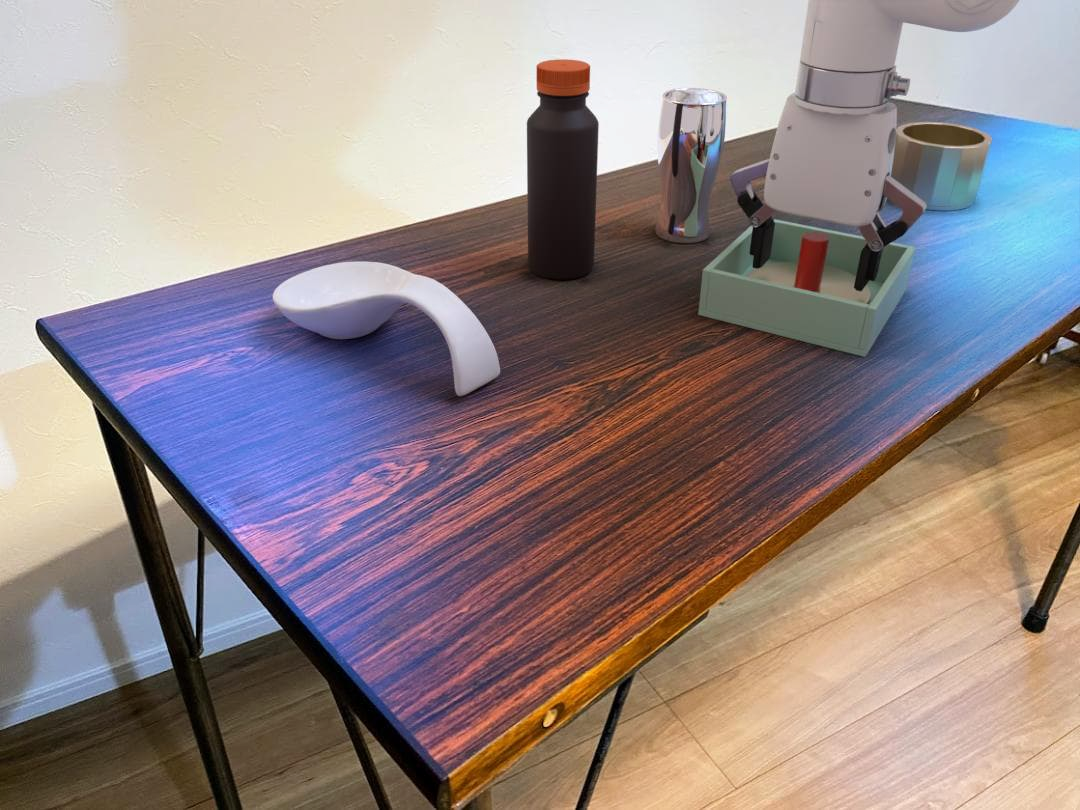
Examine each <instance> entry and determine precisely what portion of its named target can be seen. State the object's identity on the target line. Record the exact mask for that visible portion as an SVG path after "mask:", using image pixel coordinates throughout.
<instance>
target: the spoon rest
mask: <svg viewBox="0 0 1080 810" xmlns="http://www.w3.org/2000/svg"><path fill="white" fill-rule="evenodd" d="M272 301H273V304H274V306H275V307H276V308H277V310H278V311H279V312H280V313H281V314H282V315H283V316H284V317H285V318H286V319H288V321H290V322H292V323H293V324H295V325H297V326H299V327H301V328H303V329H305V330H308V331H311V332H314V333H317V334H319V335H320V336H322V337H326V338H327V339H328V338H329V339H333V340H348V339H356V338H361V337H363V336H367V335H369V334H371V333H374V331H376V330H377V329H379V328H380V327H381V325H383V324H384V323H386V322H387V321H388V320H390V318H391V317H393V316H394V315H395V314H396V313H397V311H399V309H400V307H402V305H403V304H404V303H405V304H409V305H411V306H414V307H415V308H417V309H419V310H420V311H421V312H423V313H424V314H425V315H426V316H427V317H429V318H430V319H431V320H432V321H433V322H434V323H435V325H436V326H437V328H439V330H440V332H441V333H442V335H443V338H444V340H445V341H446V343H447V346H448V349H449V354H450V359H451V363H452V372H453V382H454V391H455V394H456V396H458V397H464V396H465V395H468V394H469V393H472V392H473V391H475V390H477V389H479V388H481V387H483V386H484V385H486V384H489V383H490V382H491V381H493V380H494V379H496V378H497V377H499V376H500V374H501V367H500V362H499V356H498V353H497V350H496V348H495V346H494V342H493V341H492V339H491V337H490V335H489V334H488V332H487V330H486V329H485V327H484V325H482V323H481V322H480V320H479V319H478V317H477V316H476V315H475V314H474V312H473V311H472V310H471V309H470V307H468V305H466V303H465V302H464V301H463V300H462V299H460V298H459V296H457V295H456V294H455V293H454V292H453V291H452V290H450V289H449V288H448V287H447V286H445V285H444V284H442V283H440V282H439V281H438V280H435V279H433V278H431V277H429V276H426V275H425V276H424V275H420V274H416V273H412V272H410V271H408V270H406V269H402V268H400V267H398V266H396V265H392V264H388V263H384V262H376V261H343V262H337V263H331V264H326V265H321V266H319V267H315V268H311V269H309V270H306V271H303V272H301V273H298V274H296V275H293V276H292V277H290V278H288V279H287V280H285V281H283V282H281V283H280V284H279V285H278V286H277V287H276V288H275V289H274V291H273V292H272Z"/></svg>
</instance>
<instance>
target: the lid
mask: <svg viewBox="0 0 1080 810" xmlns="http://www.w3.org/2000/svg"><path fill="white" fill-rule="evenodd" d="M828 243H829V237H828V236H827V235H825V234H823V233H819V232H807V233H804V234H803V236H802V241H801V247H800V253H799V259H798V262H778V263H771V264H767V265H763V266H762V267H761V268H759V269H754V270H752V271H751V272H750V273H749V274H748V275H747V277H751V278H755V279H760V280H764V281H768V282H773V283H777V284H782V285H786V286H790V287H795V288H799V289H804V290H808V291H812V292H817V293H821V294H826V295H830V296H834V297H839V298H843V299H848V300H852V301H856V302H861V303H865V304H869V303H870V299H871V291H870V289H869V287H868V286H867V285H866V286H865V287H864V289H863V290H862V292H861V291H856V289H854V284H855V279H856V276H855V275H853V274H851V273H849V272H846V271H844V270H841V269H838V268H835V267H831V266H827V265H825V260H826V254H827V249H828Z"/></svg>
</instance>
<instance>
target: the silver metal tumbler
mask: <svg viewBox="0 0 1080 810" xmlns="http://www.w3.org/2000/svg"><path fill="white" fill-rule="evenodd" d="M727 99H728V96H727V95H726V94H725V93H724V92H721V91H718V90H714V89H709V88H702V87H681V88H673V89H669V90H666V91H664V92H663V93H662V101H661V107H660V112H659V120H658V128H657V129H658V130H657V147H656V151H657V165H658V175H659V183H660V184H659V185H660V206H659V207H660V208H659V212H658V216H657V220H656V224H655V228H654V231H655V234H656V236H657V237H658V238H660V240H661V239H662V240H664V241H666V242H669V243H675V244H697V243H701V242H704V241H705V240H707V239H708V238H709V237H710V235H711V224H710V223H711V222H710V203H711V197H712V193H713V190H714V189H713V188H714V185H715V182H716V178H717V175H718V172H719V169H720V165H721V160H722V157H723V151H724V146H725V145H724V144H725V140H726V139H725V138H726V126H727V125H726V124H727Z"/></svg>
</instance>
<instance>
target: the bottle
mask: <svg viewBox="0 0 1080 810" xmlns="http://www.w3.org/2000/svg"><path fill="white" fill-rule="evenodd" d="M590 88H591V65H590V64H589V63H588V62H585V61H582V60H577V59H568V58H567V59H564V58H563V59H549V60H544V61H540V62H539V63H538V64H536V91H537V92H536V94H537V97H538V98H539V106H538V107H537V108H536V109H535V110H534V111H532V113H531V115H530V116H529V117H528V118H527V120H526V184H527V188H526V189H527V193H526V194H527V199H526V200H527V263H528V268H529V270H530V271H531V272H532V273H533V274H535V275H537V276H539V277H540V278H544V279H548V280H557V281H567V280H569V281H570V280H573V279H574V280H575V279H579V278H581V277H584V276H586V275H587V274H589V273H590V272H591V271H592V270H593V268H594V265H595V248H596V247H595V246H596V245H595V243H596V220H597V219H596V218H597V217H596V215H597V186H598V185H597V183H598V155H599V153H598V152H599V129H600V127H599V126H600V125H599V120H598V118H597V116H596V115H595V114H594V113H593V111H592V110H590V108H589V107H588V106H587V98H588V97H589V96H590V92H589V91H590V90H591V89H590Z"/></svg>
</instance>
